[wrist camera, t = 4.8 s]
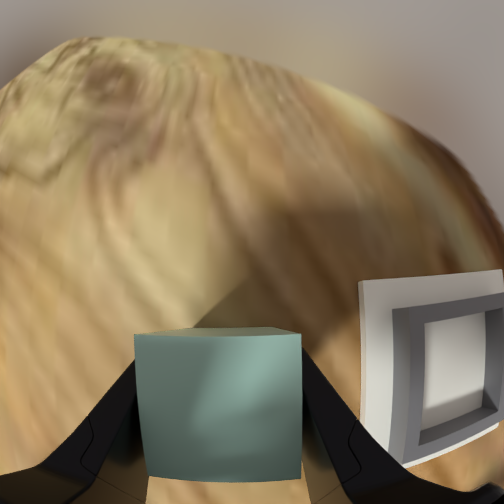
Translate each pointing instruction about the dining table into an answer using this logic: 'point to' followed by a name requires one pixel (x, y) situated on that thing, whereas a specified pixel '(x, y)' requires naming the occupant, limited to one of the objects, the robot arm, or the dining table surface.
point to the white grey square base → (431, 361)
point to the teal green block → (220, 403)
